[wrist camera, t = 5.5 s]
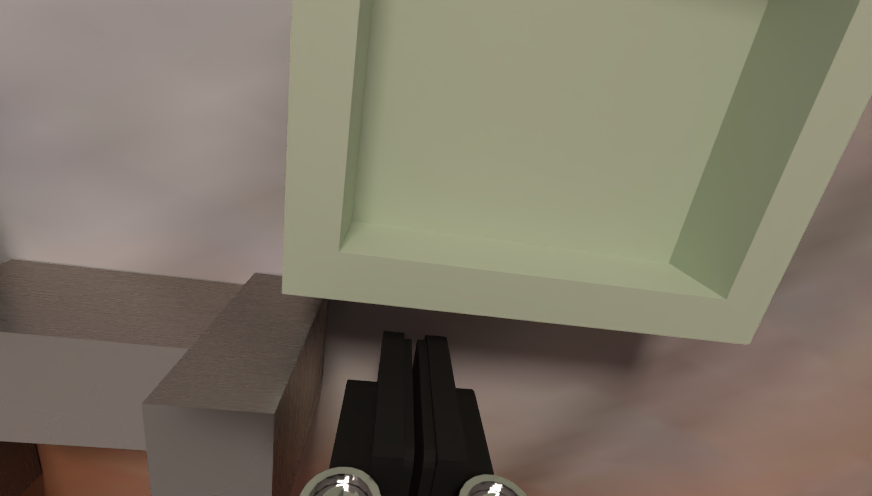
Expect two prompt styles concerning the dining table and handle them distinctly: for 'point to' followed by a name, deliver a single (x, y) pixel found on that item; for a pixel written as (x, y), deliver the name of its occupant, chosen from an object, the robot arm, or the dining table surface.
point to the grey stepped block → (163, 372)
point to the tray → (566, 154)
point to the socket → (17, 467)
